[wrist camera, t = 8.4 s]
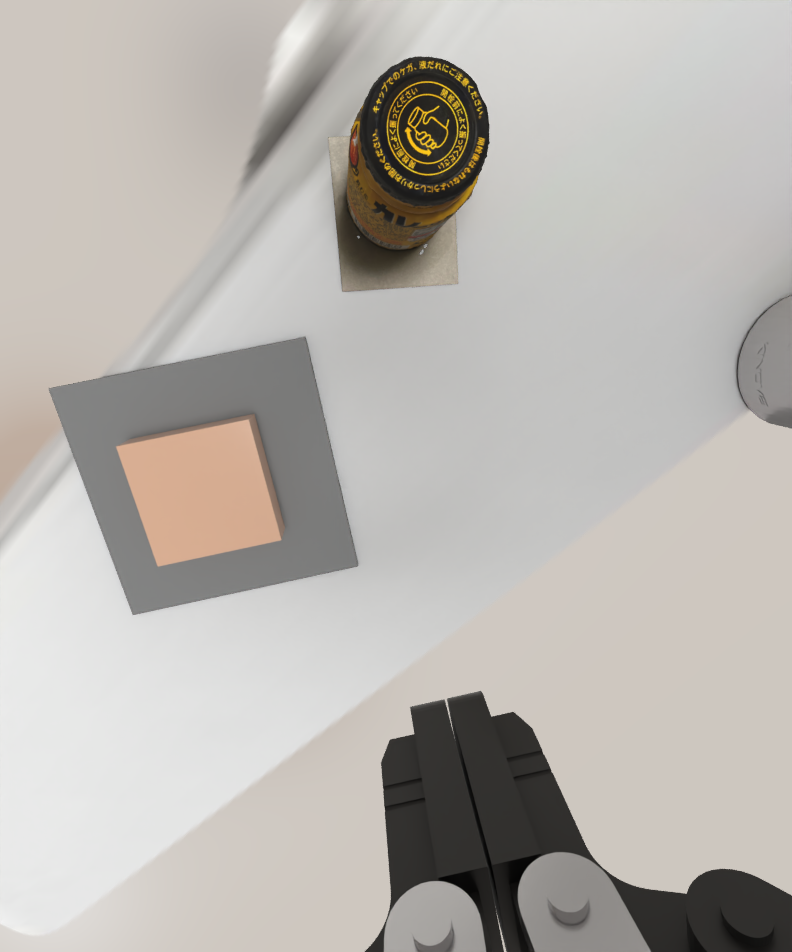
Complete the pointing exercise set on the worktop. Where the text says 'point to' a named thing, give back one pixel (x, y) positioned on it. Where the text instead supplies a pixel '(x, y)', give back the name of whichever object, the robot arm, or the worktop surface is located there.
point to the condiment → (407, 175)
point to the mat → (199, 402)
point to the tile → (203, 489)
